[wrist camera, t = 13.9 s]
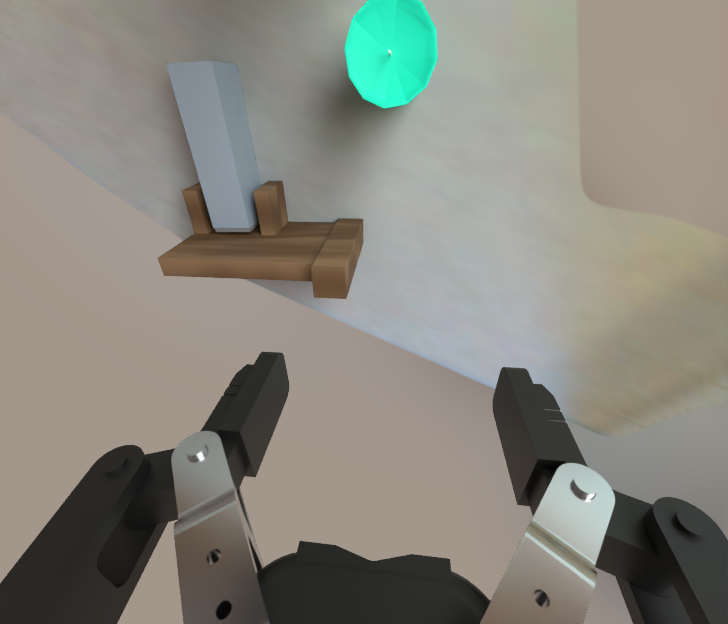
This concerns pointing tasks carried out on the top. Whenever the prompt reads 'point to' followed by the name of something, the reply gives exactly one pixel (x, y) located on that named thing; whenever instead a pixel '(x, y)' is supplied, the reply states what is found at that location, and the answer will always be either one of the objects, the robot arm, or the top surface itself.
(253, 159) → the light blue rectangular bar
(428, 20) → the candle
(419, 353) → the top surface
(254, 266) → the wooden holder stand
